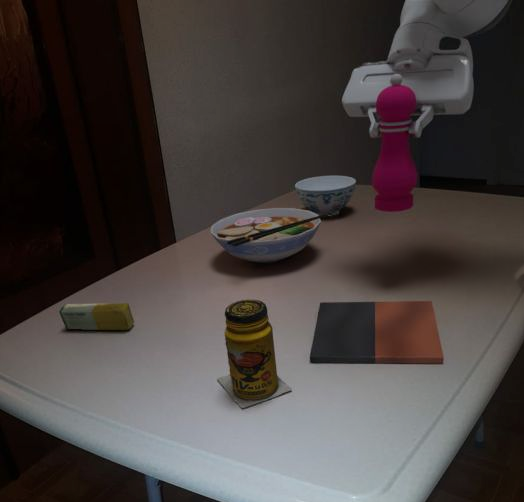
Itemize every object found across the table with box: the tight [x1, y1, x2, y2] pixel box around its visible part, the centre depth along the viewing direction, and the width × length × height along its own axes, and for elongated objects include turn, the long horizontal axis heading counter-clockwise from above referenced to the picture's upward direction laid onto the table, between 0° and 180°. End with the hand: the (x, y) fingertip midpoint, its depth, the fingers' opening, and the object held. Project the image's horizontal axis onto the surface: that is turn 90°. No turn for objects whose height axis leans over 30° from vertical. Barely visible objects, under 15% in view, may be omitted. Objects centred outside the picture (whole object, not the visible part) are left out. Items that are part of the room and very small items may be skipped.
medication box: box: [58, 302, 135, 331], centre depth 94 cm, size 12×3×4 cm, turn 78°
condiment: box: [216, 299, 293, 409], centre depth 72 cm, size 7×8×12 cm
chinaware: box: [294, 175, 357, 216], centre depth 140 cm, size 15×15×8 cm
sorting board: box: [309, 300, 445, 364], centre depth 84 cm, size 18×18×1 cm
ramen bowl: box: [210, 207, 333, 264], centre depth 116 cm, size 25×23×8 cm
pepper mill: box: [371, 74, 418, 213], centre depth 88 cm, size 7×7×20 cm
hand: (394, 135), depth 87 cm, fingers closed on pepper mill, 5 cm apart
